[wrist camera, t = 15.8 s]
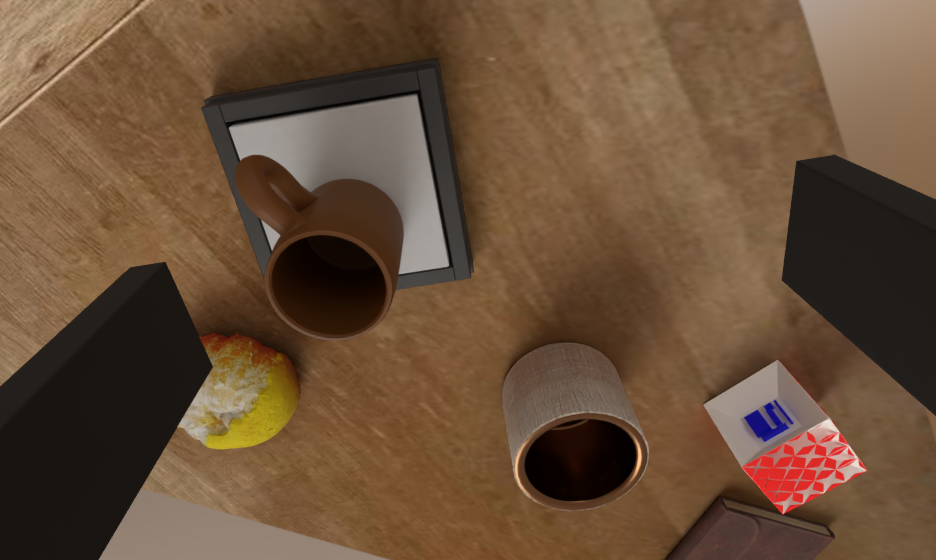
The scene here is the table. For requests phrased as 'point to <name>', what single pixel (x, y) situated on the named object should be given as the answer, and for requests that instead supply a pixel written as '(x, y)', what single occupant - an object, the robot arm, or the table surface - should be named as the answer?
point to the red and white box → (783, 438)
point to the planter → (571, 428)
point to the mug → (325, 249)
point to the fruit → (242, 394)
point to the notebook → (751, 535)
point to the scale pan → (360, 162)
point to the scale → (343, 91)
